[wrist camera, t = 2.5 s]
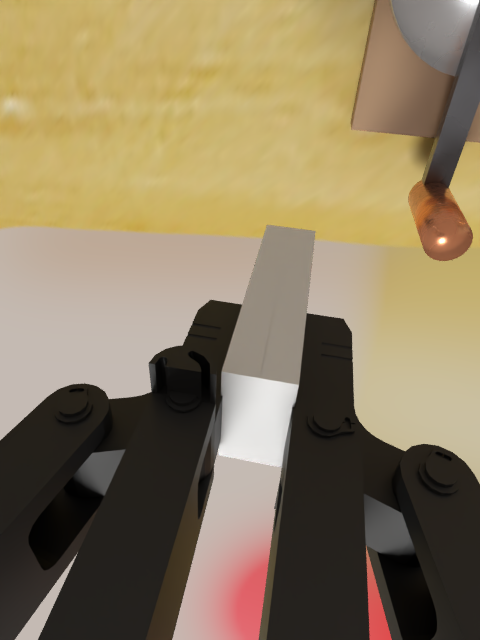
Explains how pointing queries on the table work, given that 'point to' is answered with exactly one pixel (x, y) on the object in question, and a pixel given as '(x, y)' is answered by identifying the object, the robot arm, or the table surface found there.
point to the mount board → (400, 85)
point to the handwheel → (444, 113)
